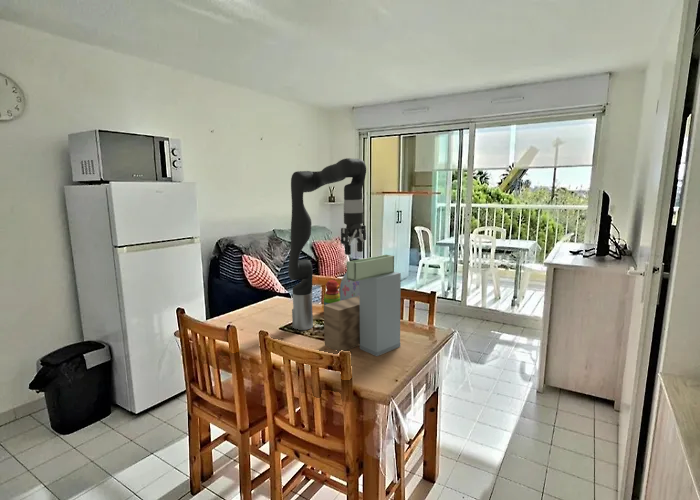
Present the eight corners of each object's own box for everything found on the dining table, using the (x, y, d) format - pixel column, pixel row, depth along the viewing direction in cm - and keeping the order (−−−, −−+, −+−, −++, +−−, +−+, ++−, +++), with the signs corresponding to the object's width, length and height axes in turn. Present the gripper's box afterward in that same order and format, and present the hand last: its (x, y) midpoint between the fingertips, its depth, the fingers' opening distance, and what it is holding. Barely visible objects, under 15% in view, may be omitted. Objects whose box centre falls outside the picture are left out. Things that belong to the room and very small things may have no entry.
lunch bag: (392, 323, 192) (393, 271, 187) (369, 331, 180) (368, 276, 176) (361, 312, 208) (360, 264, 204) (337, 320, 197) (336, 269, 192)
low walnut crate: (339, 352, 158) (338, 310, 155) (324, 345, 166) (323, 305, 163) (378, 337, 173) (378, 299, 170) (363, 331, 181) (363, 294, 178)
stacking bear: (335, 316, 203) (334, 283, 200) (319, 313, 208) (318, 281, 205) (346, 310, 212) (345, 279, 209) (331, 307, 217) (330, 277, 214)
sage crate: (354, 281, 145) (354, 263, 144) (347, 279, 149) (346, 261, 147) (394, 272, 160) (394, 255, 158) (386, 270, 163) (386, 254, 162)
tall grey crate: (376, 356, 154) (376, 278, 149) (359, 348, 162) (358, 274, 156) (400, 346, 163) (401, 273, 158) (383, 339, 171) (383, 269, 166)
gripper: (351, 212, 140) (351, 256, 143) (371, 210, 152) (371, 251, 154) (334, 212, 144) (335, 255, 147) (355, 210, 156) (356, 249, 158)
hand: (354, 253), depth 150 cm, fingers open, 8 cm apart
